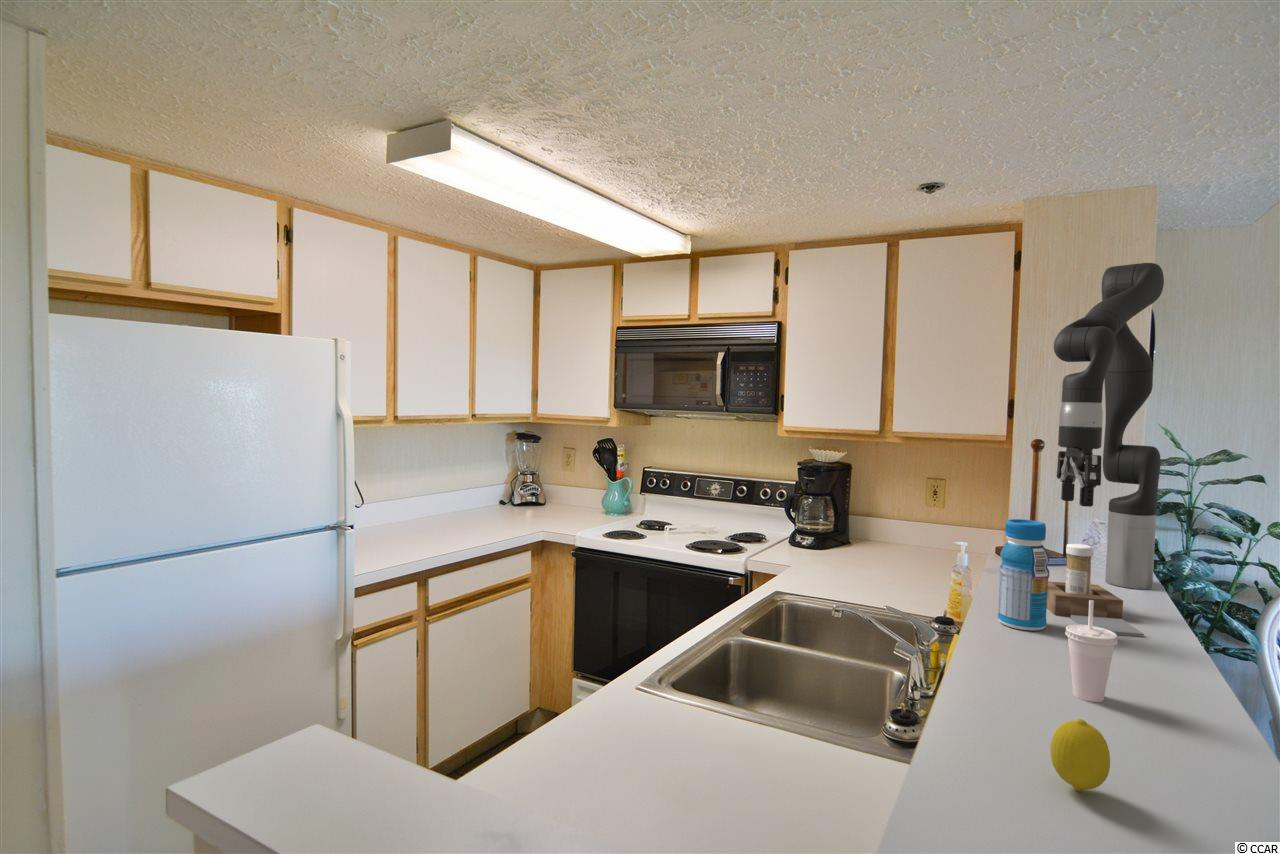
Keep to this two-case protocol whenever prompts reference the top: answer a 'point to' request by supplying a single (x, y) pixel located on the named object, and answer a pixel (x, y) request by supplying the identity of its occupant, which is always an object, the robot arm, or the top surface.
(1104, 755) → the lemon
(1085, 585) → the sprinkles bottle
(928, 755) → the top surface
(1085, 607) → the walnut socket block
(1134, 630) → the slate pad
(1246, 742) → the top surface
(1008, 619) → the beverage bottle
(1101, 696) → the smoothie
